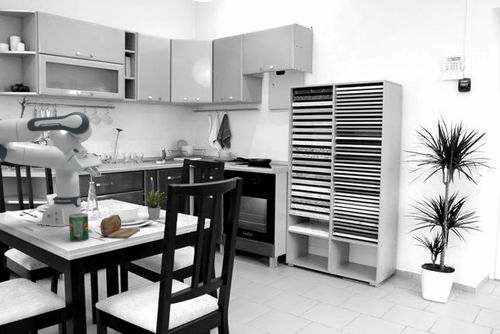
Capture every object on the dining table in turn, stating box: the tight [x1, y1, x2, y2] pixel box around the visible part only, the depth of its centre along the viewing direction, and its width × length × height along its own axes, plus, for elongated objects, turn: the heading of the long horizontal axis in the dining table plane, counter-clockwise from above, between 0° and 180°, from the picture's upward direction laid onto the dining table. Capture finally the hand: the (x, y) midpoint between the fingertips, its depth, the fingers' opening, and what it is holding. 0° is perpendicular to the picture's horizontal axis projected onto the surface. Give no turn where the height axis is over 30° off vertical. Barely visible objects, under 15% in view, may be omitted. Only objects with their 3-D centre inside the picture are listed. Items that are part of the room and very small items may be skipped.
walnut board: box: [107, 227, 141, 240], centre depth 203 cm, size 9×15×1 cm, turn 172°
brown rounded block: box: [99, 214, 122, 237], centre depth 203 cm, size 15×3×8 cm, turn 168°
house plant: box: [141, 188, 168, 220], centre depth 235 cm, size 14×14×16 cm
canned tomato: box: [68, 213, 90, 243], centre depth 193 cm, size 8×8×11 cm
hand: (98, 175), depth 202 cm, fingers closed
